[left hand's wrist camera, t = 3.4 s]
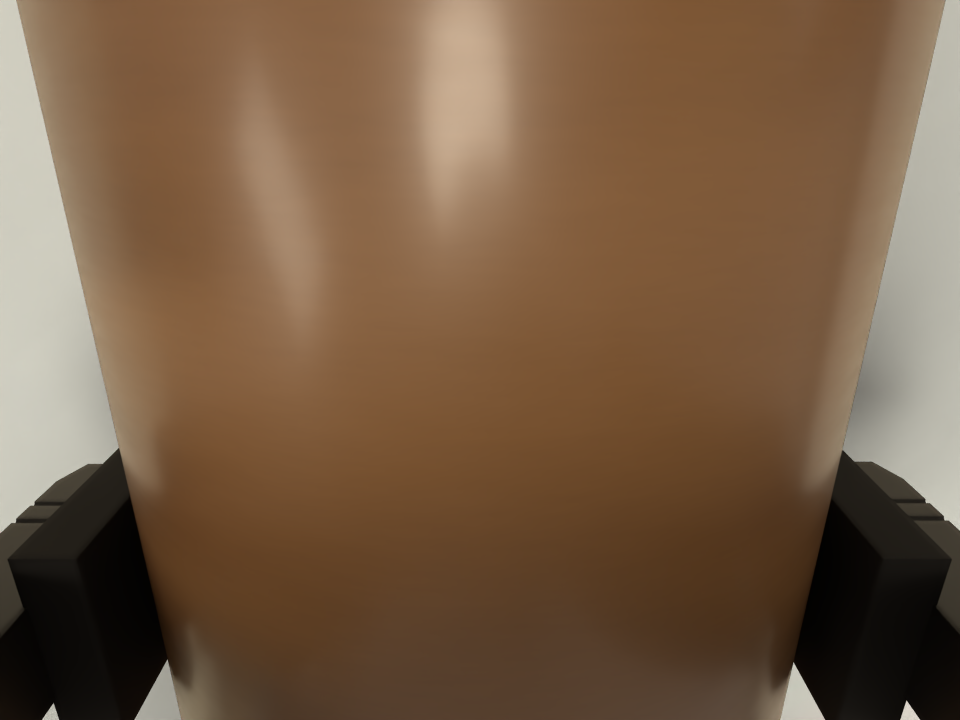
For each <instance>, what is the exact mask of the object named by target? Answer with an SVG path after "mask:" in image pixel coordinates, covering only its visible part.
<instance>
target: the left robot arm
mask: <svg viewBox="0 0 960 720" xmlns="http://www.w3.org/2000/svg"><path fill="white" fill-rule="evenodd" d="M167 659H168V658H167V654H166V649H165V645H164V641H163V636H162V632H161V628H160V623H159V619H158V615H157V610H156V606H155V602H154V597H153V593H152V588H151V584H150V580H149V575H148V571H147V567H146V562H145V558H144V554H143V549H142V545H141V541H140V536H139V532H138V528H137V523H136V519H135V514H134V510H133V506H132V501H131V497H130V493H129V488H128V484H127V480H126V475H125V471H124V467H123V462H122V458H121V453H120V449H118V450H117V451H115V452H114V453H113V454H112V455H111V456H110V457H109V458H108V459H107V460H106V461H105V462H104V463H103V464H87V465H86V466H84V467H82V468H80V469H78V470H76V471H75V472H73V473H71V474H69V475H67V476H66V477H64V478H62V479H60V480H58V481H56V482H55V483H54V484H53V485H52V486H51V487H50V488H49V489H48V490H47V491H46V492H45V493H44V494H42V495H41V496H40V497H39V498H38V499H37V500H36V501H35V505H34V506H30V507H28V508H27V509H26V510H25V511H24V512H23V513H22V514H21V515H20V516H19V517H18V518H17V519H16V523H11V524H10V525H9V526H8V527H7V528H6V529H5V530H4V531H3V532H1V533H0V720H42V719H43V717H44V716H45V714H46V713H47V712H48V710H49V709H50V707H51V706H52V704H53V703H54V705H55V708H56V711H57V714H58V717H59V720H134V719H135V717H136V716H137V714H138V712H139V710H140V708H141V706H142V705H143V703H144V701H145V699H146V697H147V696H148V694H149V692H150V690H151V688H152V686H153V685H154V683H155V681H156V679H157V677H158V675H159V674H160V672H161V670H162V668H163V666H164V664H165V663H166V661H167ZM794 664H795V665H796V667H797V669H798V671H799V673H800V675H801V676H802V678H803V680H804V682H805V684H806V685H807V687H808V689H809V691H810V693H811V695H812V696H813V698H814V700H815V702H816V704H817V706H818V707H819V709H820V711H821V713H822V715H823V717H824V718H825V720H900V719H901V716H902V712H903V709H904V706H905V703H906V700H907V701H908V703H909V704H910V706H911V707H912V709H913V710H914V711H915V713H916V714H917V716H918V717H919V719H920V720H960V531H959V530H958V529H957V528H956V527H955V526H954V525H953V524H952V523H951V522H950V521H945V520H944V516H943V515H942V514H941V513H940V512H939V511H938V510H937V509H935V508H934V507H933V506H932V505H931V504H930V503H926V502H925V498H924V497H922V496H921V495H920V494H919V493H918V492H917V491H916V490H915V489H914V488H913V487H912V486H910V485H909V484H908V483H907V482H906V481H905V480H904V479H902V478H901V477H899V476H897V475H895V474H893V473H891V472H890V471H888V470H886V469H884V468H882V467H880V466H879V465H877V464H875V463H873V462H854V461H853V460H852V459H851V458H850V457H849V456H848V455H847V454H846V453H845V452H844V451H843V450H842V453H841V457H840V462H839V466H838V470H837V475H836V479H835V483H834V488H833V492H832V496H831V501H830V505H829V509H828V514H827V518H826V523H825V527H824V531H823V536H822V540H821V544H820V549H819V553H818V557H817V562H816V566H815V570H814V575H813V579H812V583H811V588H810V592H809V596H808V601H807V605H806V609H805V614H804V618H803V623H802V627H801V631H800V636H799V640H798V644H797V649H796V653H795V657H794Z"/></svg>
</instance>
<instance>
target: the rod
mask: <svg viewBox="0 0 960 720" xmlns="http://www.w3.org/2000/svg"><path fill="white" fill-rule="evenodd" d="M16 1H17V5H18V9H19V14H20V18H21V22H22V27H23V31H24V36H25V40H26V44H27V49H28V53H29V57H30V62H31V66H32V70H33V75H34V79H35V83H36V88H37V92H38V96H39V101H40V105H41V110H42V114H43V118H44V123H45V127H46V131H47V136H48V140H49V144H50V149H51V153H52V157H53V162H54V166H55V171H56V175H57V179H58V184H59V188H60V192H61V197H62V201H63V205H64V210H65V214H66V218H67V223H68V227H69V231H70V236H71V240H72V245H73V249H74V253H75V258H76V262H77V266H78V271H79V275H80V279H81V284H82V288H83V292H84V297H85V301H86V305H87V310H88V314H89V319H90V323H91V327H92V332H93V336H94V340H95V345H96V349H97V353H98V358H99V362H100V366H101V371H102V375H103V379H104V384H105V388H106V393H107V397H108V401H109V406H110V410H111V414H112V419H113V423H114V427H115V432H116V436H117V440H118V445H119V449H120V453H121V458H122V462H123V467H124V471H125V475H126V480H127V484H128V488H129V493H130V497H131V501H132V506H133V510H134V514H135V519H136V523H137V528H138V532H139V536H140V541H141V545H142V549H143V554H144V558H145V562H146V567H147V571H148V575H149V580H150V584H151V588H152V593H153V597H154V602H155V606H156V610H157V615H158V619H159V623H160V628H161V632H162V636H163V641H164V645H165V649H166V654H167V658H168V662H169V667H170V671H171V676H172V680H173V684H174V689H175V693H176V697H177V702H178V706H179V710H180V715H181V719H182V720H780V718H781V714H782V709H783V705H784V701H785V696H786V692H787V688H788V683H789V679H790V675H791V670H792V666H793V662H794V657H795V653H796V649H797V644H798V640H799V636H800V631H801V627H802V623H803V618H804V614H805V609H806V605H807V601H808V596H809V592H810V588H811V583H812V579H813V575H814V570H815V566H816V562H817V557H818V553H819V549H820V544H821V540H822V536H823V531H824V527H825V523H826V518H827V514H828V509H829V505H830V501H831V496H832V492H833V488H834V483H835V479H836V475H837V470H838V466H839V462H840V457H841V453H842V449H843V444H844V440H845V436H846V431H847V427H848V423H849V418H850V414H851V409H852V405H853V401H854V396H855V392H856V388H857V383H858V379H859V375H860V370H861V366H862V362H863V357H864V353H865V349H866V344H867V340H868V336H869V331H870V327H871V322H872V318H873V314H874V309H875V305H876V301H877V296H878V292H879V288H880V283H881V279H882V275H883V270H884V266H885V262H886V257H887V253H888V249H889V244H890V240H891V236H892V231H893V227H894V222H895V218H896V214H897V209H898V205H899V201H900V196H901V192H902V188H903V183H904V179H905V175H906V170H907V166H908V162H909V157H910V153H911V149H912V144H913V140H914V136H915V131H916V127H917V122H918V118H919V114H920V109H921V105H922V101H923V96H924V92H925V88H926V83H927V79H928V75H929V70H930V66H931V62H932V57H933V53H934V49H935V44H936V40H937V36H938V31H939V27H940V22H941V18H942V14H943V9H944V5H945V1H946V0H16Z"/></svg>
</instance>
